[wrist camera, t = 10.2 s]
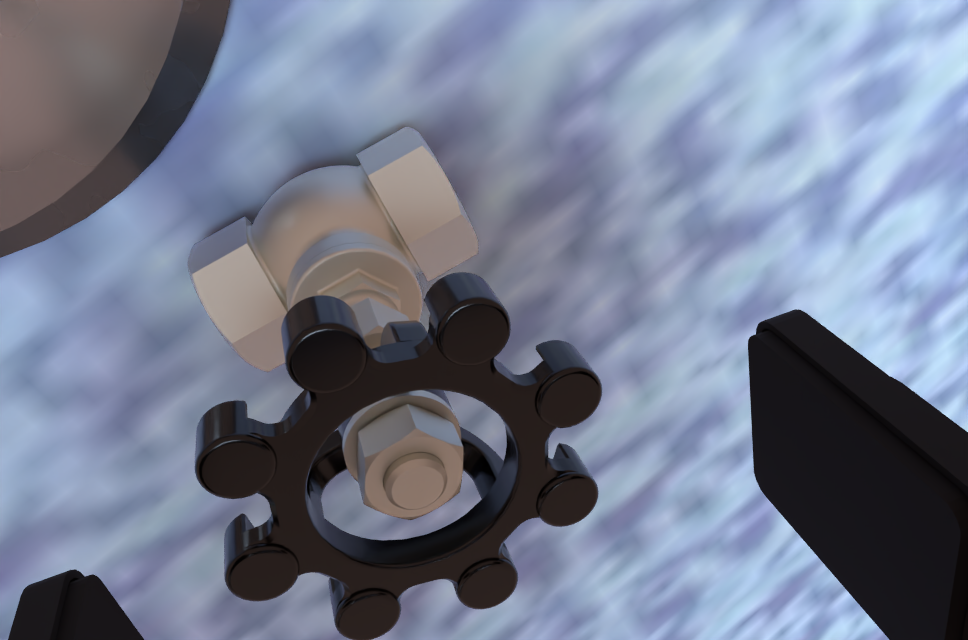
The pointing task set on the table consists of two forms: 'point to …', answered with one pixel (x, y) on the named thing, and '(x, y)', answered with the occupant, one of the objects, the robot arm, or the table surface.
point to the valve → (379, 390)
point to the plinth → (137, 127)
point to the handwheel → (71, 89)
